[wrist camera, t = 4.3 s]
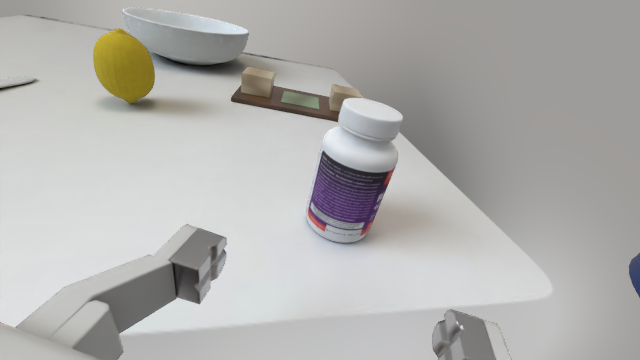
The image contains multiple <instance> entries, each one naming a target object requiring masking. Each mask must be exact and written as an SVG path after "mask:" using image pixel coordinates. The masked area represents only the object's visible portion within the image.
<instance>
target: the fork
mask: <svg viewBox="0 0 640 360" xmlns="http://www.w3.org/2000/svg"><path fill="white" fill-rule="evenodd" d="M35 80H36V78H33V77H29V76H22V77H11V78H5V79H0V88H3V87H9V86H14V85H20V84H26V83H29V82H33V81H35Z"/></svg>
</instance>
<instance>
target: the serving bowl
mask: <svg viewBox="0 0 640 360" xmlns="http://www.w3.org/2000/svg"><path fill="white" fill-rule="evenodd" d="M122 14H123V17H124V21H125V23H126V26H127V28H128V30H129V32H130V33H131V35H132V36H133V37H135V38H136V39H138V40H139V41H140V42H141V43H142V44H143V45H144V46H145V47H146V49H148V50H149V51H151V52H153V53H156V54H158V55H161V56H163V57H167V58H169V59H171V60H173V61H176V62H180V63H185V64H191V65H213V64H216V63H223V62H228V61H231V60H233V59H235V58H236V57H238V56H239V55H240V54H241V53H242V52H243V50H244V48H245V46H246V43H247V40H248V35H249V32H248V31H247V30H246V29H244V28H242V27H240V26H236V25H233V24H230V23H226V22H223V21H219V20H215V19H210V18H206V17H201V16H196V15H190V14H184V13H178V12H172V11H165V10H157V9H147V8H124V9H123V10H122Z"/></svg>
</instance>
